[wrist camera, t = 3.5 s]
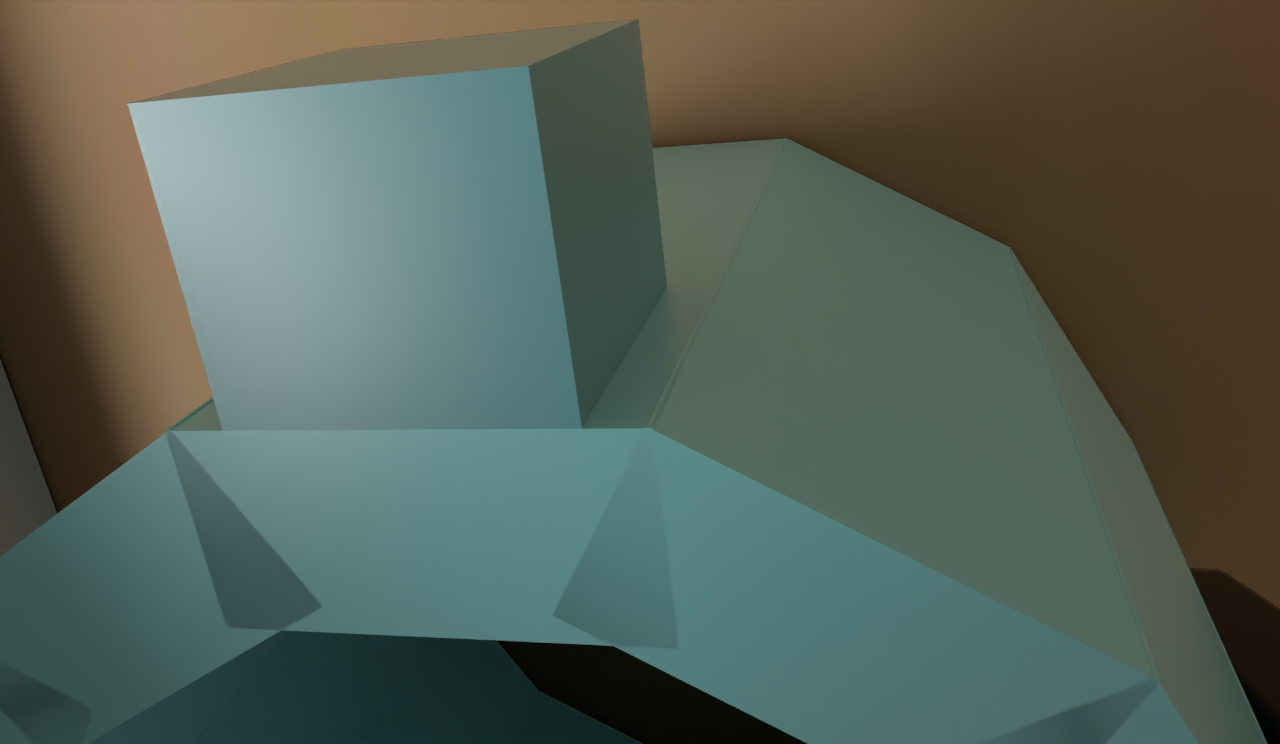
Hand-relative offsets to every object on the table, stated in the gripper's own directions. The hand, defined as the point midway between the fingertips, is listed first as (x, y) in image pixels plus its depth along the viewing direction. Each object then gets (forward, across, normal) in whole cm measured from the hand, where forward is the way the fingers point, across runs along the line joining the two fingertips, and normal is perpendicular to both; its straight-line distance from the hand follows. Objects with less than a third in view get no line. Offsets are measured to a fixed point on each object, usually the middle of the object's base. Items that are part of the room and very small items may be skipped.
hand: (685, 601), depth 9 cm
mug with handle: (+1, 0, 0) cm, 1 cm away
